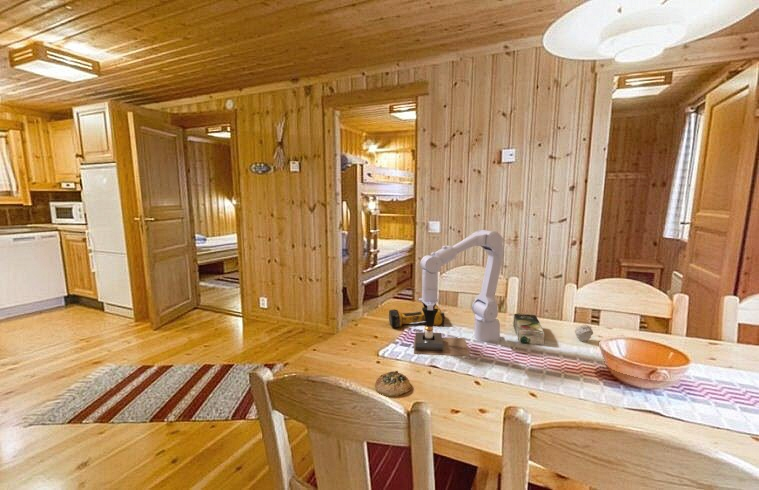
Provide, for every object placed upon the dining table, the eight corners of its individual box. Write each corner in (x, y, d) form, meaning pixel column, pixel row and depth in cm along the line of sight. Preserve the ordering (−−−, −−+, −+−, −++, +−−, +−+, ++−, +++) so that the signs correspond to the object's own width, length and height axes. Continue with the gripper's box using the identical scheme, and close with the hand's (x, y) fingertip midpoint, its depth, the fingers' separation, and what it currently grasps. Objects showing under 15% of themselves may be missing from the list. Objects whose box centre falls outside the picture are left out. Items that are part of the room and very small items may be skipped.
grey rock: (580, 344, 136) (582, 327, 135) (570, 337, 143) (571, 321, 142) (596, 344, 137) (597, 327, 136) (585, 337, 144) (586, 320, 143)
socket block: (441, 340, 139) (441, 333, 139) (442, 351, 129) (442, 343, 129) (415, 339, 140) (415, 332, 140) (415, 350, 130) (415, 342, 130)
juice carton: (545, 346, 136) (546, 331, 135) (518, 344, 138) (519, 329, 137) (536, 328, 155) (536, 314, 154) (512, 326, 157) (512, 313, 157)
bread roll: (389, 374, 115) (390, 360, 114) (417, 390, 109) (419, 375, 107) (366, 389, 107) (367, 375, 106) (395, 408, 100) (397, 392, 99)
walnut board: (464, 340, 141) (464, 338, 141) (470, 358, 125) (470, 356, 125) (414, 338, 143) (414, 336, 143) (413, 356, 128) (413, 353, 127)
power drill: (385, 312, 177) (434, 310, 180) (391, 330, 154) (447, 327, 156) (385, 298, 176) (434, 296, 179) (391, 314, 153) (448, 311, 155)
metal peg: (432, 343, 136) (433, 325, 135) (433, 347, 133) (433, 328, 132) (424, 343, 137) (424, 325, 135) (424, 346, 133) (424, 328, 132)
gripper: (419, 282, 139) (418, 315, 141) (419, 292, 125) (418, 329, 127) (437, 283, 139) (436, 316, 141) (439, 293, 124) (438, 330, 126)
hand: (429, 322), depth 134 cm, fingers open, 7 cm apart
